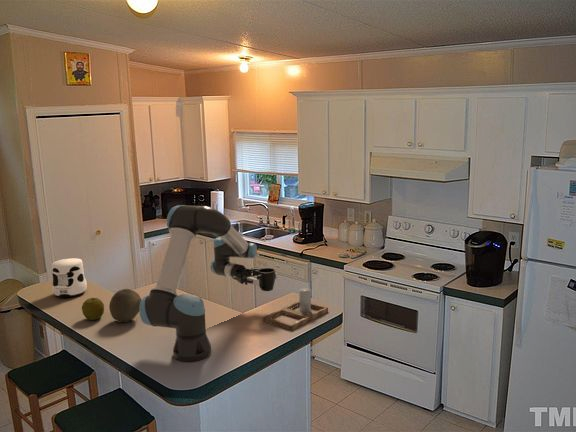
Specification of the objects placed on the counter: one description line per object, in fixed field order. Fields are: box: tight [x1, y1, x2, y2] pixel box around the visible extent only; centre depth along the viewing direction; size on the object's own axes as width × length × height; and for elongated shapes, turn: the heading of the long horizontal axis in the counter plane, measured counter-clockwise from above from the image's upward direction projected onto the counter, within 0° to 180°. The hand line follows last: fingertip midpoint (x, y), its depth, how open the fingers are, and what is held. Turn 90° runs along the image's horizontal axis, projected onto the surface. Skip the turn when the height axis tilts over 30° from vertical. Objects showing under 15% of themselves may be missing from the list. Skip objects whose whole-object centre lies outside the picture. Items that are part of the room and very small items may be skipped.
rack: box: [262, 300, 329, 331], centre depth 246 cm, size 27×17×2 cm, turn 140°
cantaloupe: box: [108, 288, 142, 323], centre depth 245 cm, size 14×14×15 cm
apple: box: [81, 297, 105, 321], centre depth 249 cm, size 10×10×11 cm
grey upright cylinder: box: [298, 287, 312, 314], centre depth 250 cm, size 6×6×11 cm
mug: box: [256, 267, 276, 292], centre depth 249 cm, size 8×12×10 cm
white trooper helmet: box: [51, 257, 88, 298], centre depth 284 cm, size 17×17×18 cm
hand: (267, 279), depth 247 cm, fingers closed on mug, 12 cm apart
